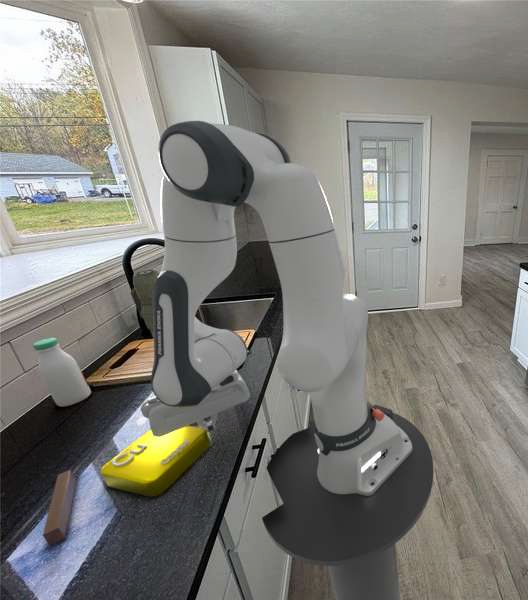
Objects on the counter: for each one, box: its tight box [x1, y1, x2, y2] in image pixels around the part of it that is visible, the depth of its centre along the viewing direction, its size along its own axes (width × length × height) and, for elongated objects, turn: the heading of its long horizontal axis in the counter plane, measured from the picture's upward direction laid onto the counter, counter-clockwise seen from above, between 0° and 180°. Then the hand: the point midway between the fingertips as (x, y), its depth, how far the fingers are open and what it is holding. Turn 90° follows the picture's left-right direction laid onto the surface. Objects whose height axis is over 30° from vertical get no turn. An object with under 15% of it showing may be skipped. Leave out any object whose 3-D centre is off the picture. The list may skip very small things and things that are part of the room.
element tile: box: [99, 425, 211, 498], centre depth 71 cm, size 15×15×5 cm
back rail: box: [42, 469, 77, 547], centre depth 62 cm, size 2×16×3 cm, turn 39°
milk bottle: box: [32, 337, 92, 407], centre depth 92 cm, size 8×8×20 cm
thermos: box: [130, 269, 160, 340], centre depth 102 cm, size 9×12×35 cm
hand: (210, 429), depth 77 cm, fingers closed
